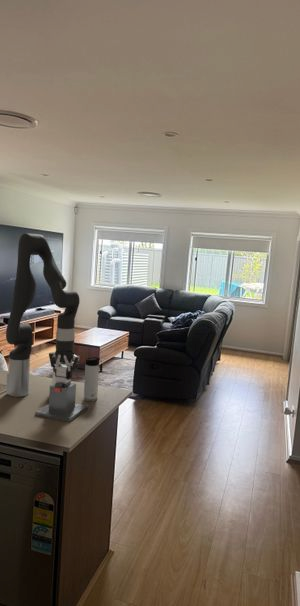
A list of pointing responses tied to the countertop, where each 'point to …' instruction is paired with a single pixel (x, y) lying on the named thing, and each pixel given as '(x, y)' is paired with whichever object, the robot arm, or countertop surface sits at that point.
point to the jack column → (62, 375)
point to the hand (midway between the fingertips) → (63, 378)
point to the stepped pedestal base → (62, 403)
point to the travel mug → (91, 379)
